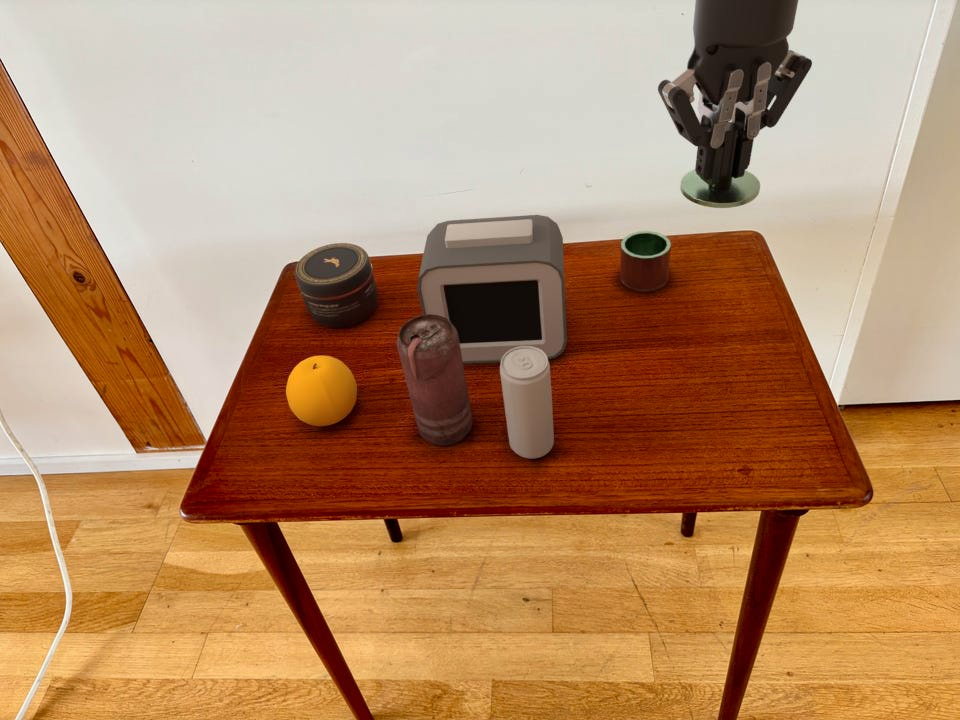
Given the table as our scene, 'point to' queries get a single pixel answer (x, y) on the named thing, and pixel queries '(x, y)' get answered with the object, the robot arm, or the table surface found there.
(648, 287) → the pot
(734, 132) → the lid
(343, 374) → the orange
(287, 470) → the table surface
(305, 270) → the jar
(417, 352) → the can
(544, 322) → the alarm clock
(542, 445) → the beverage can
